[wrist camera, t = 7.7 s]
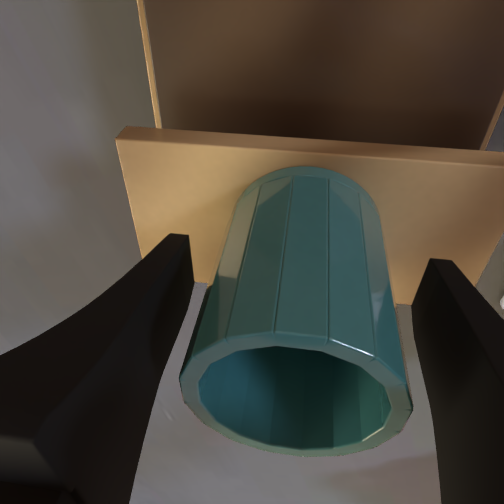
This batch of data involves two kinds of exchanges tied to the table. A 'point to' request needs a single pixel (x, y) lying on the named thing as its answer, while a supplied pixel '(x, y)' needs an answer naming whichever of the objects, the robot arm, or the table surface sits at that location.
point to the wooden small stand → (324, 119)
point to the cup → (300, 322)
